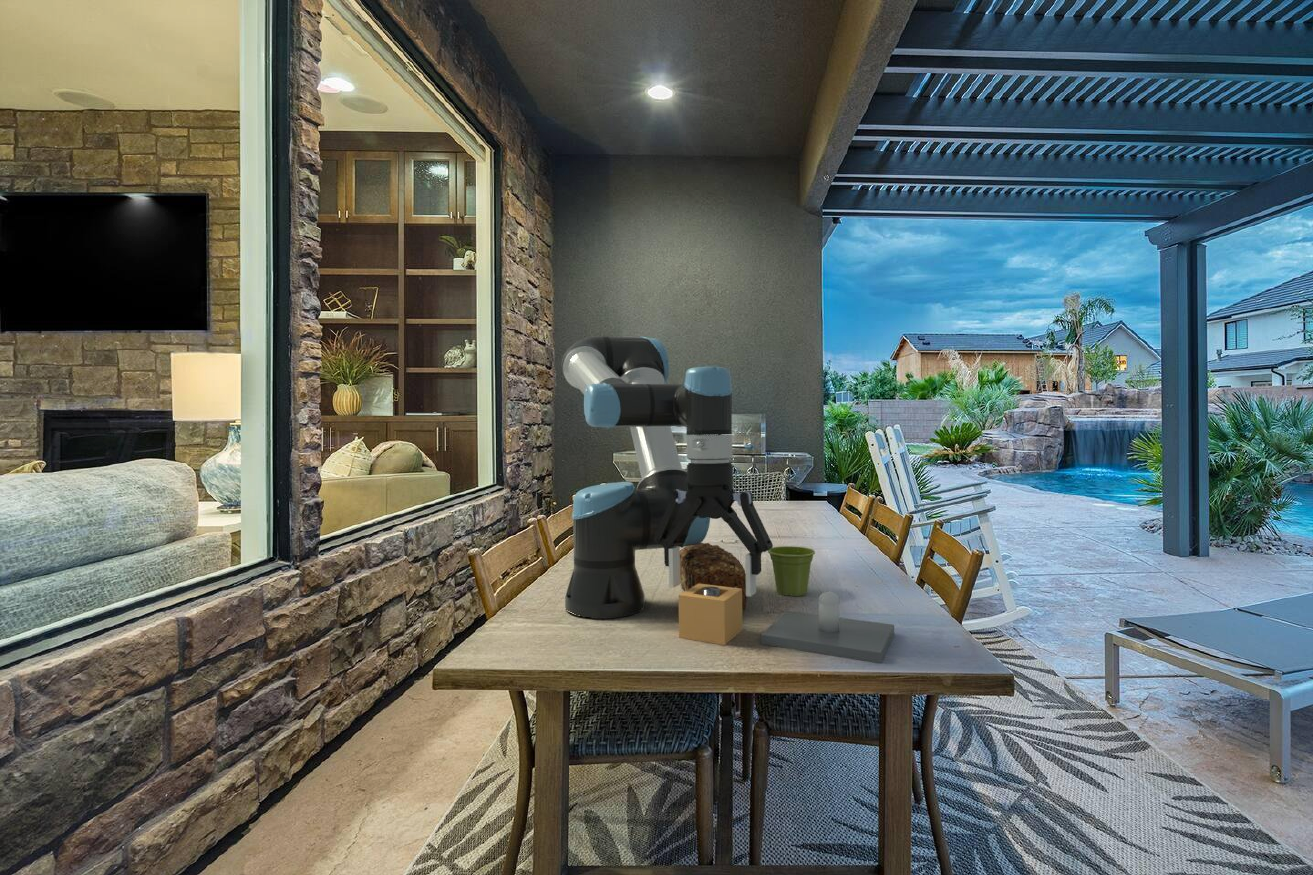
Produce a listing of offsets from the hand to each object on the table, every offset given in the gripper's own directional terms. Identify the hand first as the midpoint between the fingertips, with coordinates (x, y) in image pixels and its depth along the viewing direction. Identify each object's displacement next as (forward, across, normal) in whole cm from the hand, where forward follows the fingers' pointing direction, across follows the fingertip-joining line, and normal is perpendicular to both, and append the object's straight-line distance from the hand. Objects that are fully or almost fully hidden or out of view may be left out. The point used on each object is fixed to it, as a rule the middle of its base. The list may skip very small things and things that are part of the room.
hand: (711, 590), depth 105 cm
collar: (+7, 0, 0) cm, 7 cm away
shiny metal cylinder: (+7, 0, 0) cm, 7 cm away
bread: (+7, -8, +19) cm, 22 cm away
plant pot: (+7, +5, +30) cm, 32 cm away
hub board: (+8, +18, +6) cm, 20 cm away
